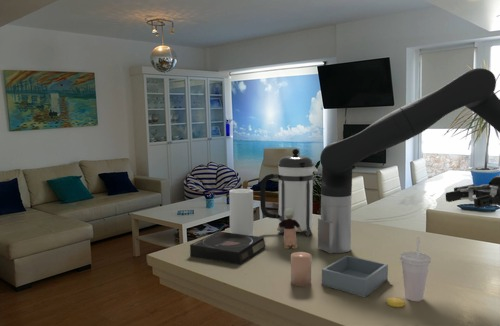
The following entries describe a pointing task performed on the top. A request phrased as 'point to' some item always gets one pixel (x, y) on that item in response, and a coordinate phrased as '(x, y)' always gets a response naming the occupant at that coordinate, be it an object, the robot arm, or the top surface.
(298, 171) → the coffee press
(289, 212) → the grandmother figurine
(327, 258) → the top surface
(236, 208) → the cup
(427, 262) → the smoothie
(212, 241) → the portable cd player
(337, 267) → the tote
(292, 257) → the canister
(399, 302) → the yellow disc
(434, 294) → the top surface
